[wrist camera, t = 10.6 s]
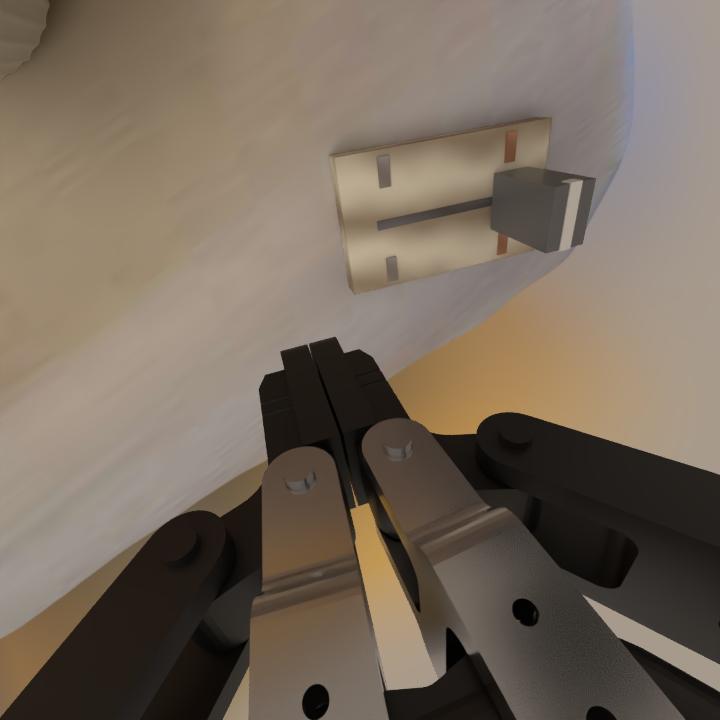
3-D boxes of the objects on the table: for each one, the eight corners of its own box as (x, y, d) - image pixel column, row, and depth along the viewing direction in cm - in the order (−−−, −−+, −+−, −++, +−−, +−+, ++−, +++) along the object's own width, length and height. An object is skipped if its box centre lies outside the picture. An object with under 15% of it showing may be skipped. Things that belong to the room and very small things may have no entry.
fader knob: (493, 172, 35) (556, 185, 28) (528, 165, 35) (597, 177, 29) (490, 230, 38) (546, 254, 31) (521, 222, 38) (583, 245, 32)
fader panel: (328, 155, 32) (334, 158, 31) (536, 117, 36) (553, 117, 34) (349, 287, 39) (355, 295, 37) (522, 244, 42) (535, 250, 41)
